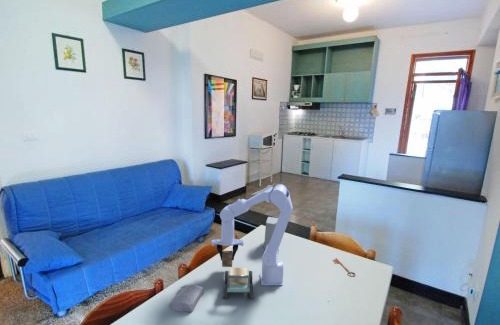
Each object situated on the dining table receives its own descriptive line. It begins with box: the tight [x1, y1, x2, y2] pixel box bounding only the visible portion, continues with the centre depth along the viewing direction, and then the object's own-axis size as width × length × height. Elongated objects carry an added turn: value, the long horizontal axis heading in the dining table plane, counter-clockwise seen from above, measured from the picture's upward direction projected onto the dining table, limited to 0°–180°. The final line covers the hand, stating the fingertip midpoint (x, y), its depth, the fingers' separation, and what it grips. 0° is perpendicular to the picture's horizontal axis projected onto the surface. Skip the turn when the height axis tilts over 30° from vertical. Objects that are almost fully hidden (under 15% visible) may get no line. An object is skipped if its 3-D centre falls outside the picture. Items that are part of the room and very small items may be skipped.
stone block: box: [170, 284, 204, 313], centre depth 103 cm, size 12×5×10 cm
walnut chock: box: [221, 250, 233, 268], centre depth 120 cm, size 4×7×6 cm, turn 2°
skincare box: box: [263, 216, 279, 249], centre depth 145 cm, size 8×7×16 cm
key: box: [332, 258, 356, 278], centre depth 127 cm, size 6×1×15 cm
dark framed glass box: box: [222, 267, 254, 299], centre depth 109 cm, size 12×14×10 cm
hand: (227, 259), depth 120 cm, fingers closed on walnut chock, 4 cm apart
